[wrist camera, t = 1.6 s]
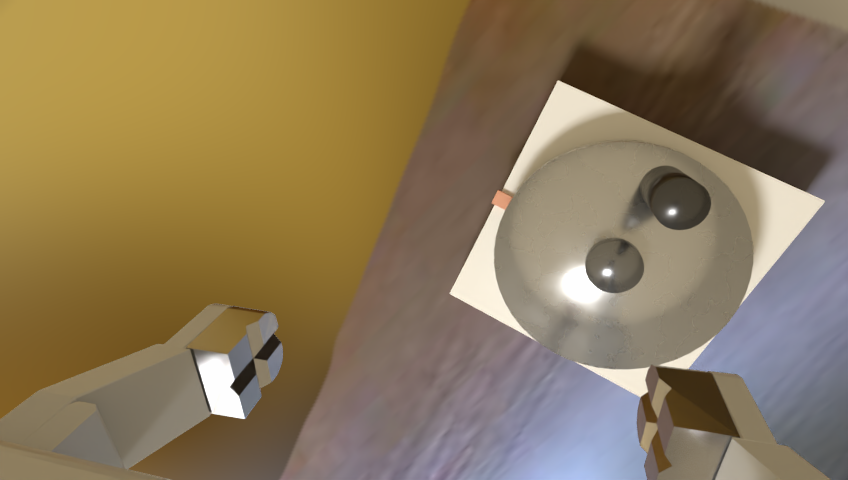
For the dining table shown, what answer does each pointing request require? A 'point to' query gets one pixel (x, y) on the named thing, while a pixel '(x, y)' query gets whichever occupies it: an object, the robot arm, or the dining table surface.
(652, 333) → the handwheel
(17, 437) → the robot arm
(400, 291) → the dining table surface
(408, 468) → the dining table surface
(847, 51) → the dining table surface
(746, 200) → the wheel base
